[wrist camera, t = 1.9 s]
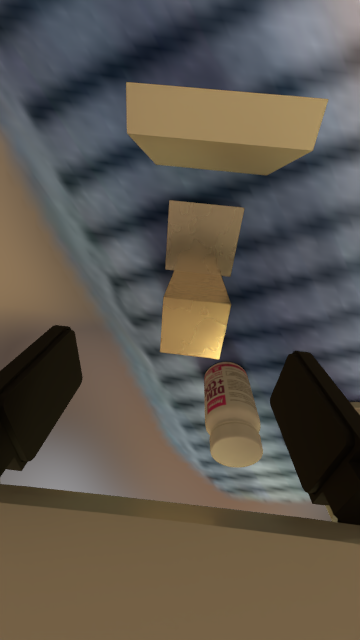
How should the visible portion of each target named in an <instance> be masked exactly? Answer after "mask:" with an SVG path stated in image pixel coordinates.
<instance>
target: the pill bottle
mask: <svg viewBox="0 0 360 640" xmlns="http://www.w3.org/2000/svg"><path fill="white" fill-rule="evenodd" d="M204 393H205V425H206V429H207V432H208V433H209V435H210V451H211V455H212V457H213V458H214V459H215V460H216V461H217V462H218V463H220V464H222V465H225V466H229V467H245V466H249V465H252V464H254V463H256V462H257V461H258V460H259V459H260V458H261V457H262V454H263V449H262V444H261V438H260V435H259V431H260V419H259V415H258V412H257V409H256V405H255V401H254V398H253V394H252V391H251V387H250V383H249V380H248V376H247V374H246V372H245V370H244V369H243V368H242V367H240V366H239V365H237V364H235V363H231V362H221V363H217V364H215V365H213V366H211V367H210V368H209V369H208V370H207V372H206V374H205V377H204Z"/></svg>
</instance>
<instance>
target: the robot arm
mask: <svg viewBox="0 0 360 640" xmlns="http://www.w3.org/2000/svg"><path fill="white" fill-rule="evenodd" d="M81 382H82V372H81V366H80V360H79V355H78V349H77V343H76V337H75V332H74V331H73V330H71V328H70V327H68V326H58V325H55V326H53V327H51V328H50V329H49V330H48V331H47V332H45V333H44V334H43V335H42V336H41V337H40V338H38V339H37V340H36V341H35V342H34V343H33V344H32V345H30V346H29V347H28V348H27V349H26V350H24V351H23V352H22V353H21V354H20V355H19V356H18V357H16V358H15V359H14V360H13V361H12V362H10V363H9V364H8V365H7V366H6V367H4V368H3V369H2V370H1V371H0V476H1V475H2V473H3V472H4V471H5V469H9V470H18V471H22V469H23V468H24V466H25V465H26V463H27V462H28V461H31V460H32V459H33V458H34V457H35V456H36V454H37V452H38V451H39V449H40V448H41V446H42V445H43V443H44V442H45V440H46V438H47V437H48V435H49V434H50V432H51V430H52V429H53V427H54V426H55V424H56V422H57V421H58V419H59V418H60V416H61V415H62V413H63V412H64V410H65V408H66V407H67V405H68V404H69V402H70V400H71V399H72V397H73V395H74V394H75V393H76V391H77V389H78V388H79V386H80V384H81ZM270 404H271V407H272V410H273V412H274V415H275V418H276V420H277V423H278V425H279V428H280V431H281V433H282V436H283V438H284V441H285V444H286V446H287V449H288V451H289V454H290V457H291V459H292V462H293V464H294V467H295V470H296V472H297V475H298V477H299V480H300V483H301V485H302V487H303V489H304V491H305V492H307V493H308V494H309V496H310V499H311V501H312V504H319V505H325V506H326V508H327V510H328V513H329V515H330V517H331V520H332V521H331V522H330V521H323V520H316V519H309V518H301V517H292V516H284V515H275V514H267V513H258V512H250V511H242V510H234V509H225V508H217V507H208V506H199V505H190V504H181V503H173V502H164V501H155V500H145V499H137V498H128V497H120V496H110V495H101V494H91V493H82V492H72V491H64V490H54V489H45V488H36V487H27V486H16V485H15V486H14V485H4V484H0V640H360V402H349V401H348V400H347V398H346V397H345V396H344V394H343V393H342V392H341V391H340V389H339V388H338V387H337V386H336V384H335V383H334V382H333V381H332V379H331V378H330V377H329V376H328V374H327V373H326V372H325V371H324V369H323V368H322V367H321V365H320V364H319V363H318V362H317V360H316V359H315V358H314V357H313V355H312V354H311V353H309V352H300V351H294V352H293V353H292V354H289V355H288V357H287V359H286V362H285V364H284V367H283V369H282V371H281V374H280V376H279V379H278V381H277V383H276V386H275V388H274V390H273V393H272V395H271V398H270Z"/></svg>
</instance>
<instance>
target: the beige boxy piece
mask: <svg viewBox="0 0 360 640" xmlns="http://www.w3.org/2000/svg"><path fill="white" fill-rule="evenodd" d="M243 213H244V208H241V207H231V206H221V205H211V204H202V203H192V202H182V201H172V200H169V216H168V232H167V249H166V266H165V269H166V270H174V273H173V275H172V278H171V280H170V283H169V285H168V287H167V290H166V292H165V295H164V297H163V314H162V331H161V347H160V352H163V353H171V354H180V355H188V356H196V357H204V358H212V359H219V358H220V353H221V349H222V344H223V340H224V335H225V331H226V326H227V322H228V317H229V313H230V308H231V303H230V300H229V297H228V294H227V291H226V288H225V286H224V283H223V280H222V277H221V276H229V277H230V276H231V271H232V266H233V261H234V257H235V252H236V247H237V242H238V237H239V232H240V227H241V222H242V218H243Z"/></svg>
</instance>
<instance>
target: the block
mask: <svg viewBox="0 0 360 640" xmlns="http://www.w3.org/2000/svg"><path fill="white" fill-rule="evenodd" d="M126 102H127V134H128V135H129V136H130V137H131V138H132V139H133V140H134V141H135V142H136V144H137V145H138V146H139V147H140V148H141V149H142V150H143V151H144V152H145V153H146V154H147V155H148V156H149V158H150V159H151V160H152V161H153V162H154V163H155V164H156V165H165V166H175V167H185V168H196V169H206V170H216V171H227V172H237V173H247V174H258V175H268V174H270V173H272V172H274V171H276V170H278V169H279V168H281V167H283V166H285V165H287V164H289V163H291V162H292V161H294V160H296V159H298V158H300V157H302V156H304V155H305V154H307V153H309V152H311V151H313V148H314V145H315V142H316V138H317V135H318V132H319V128H320V125H321V122H322V118H323V115H324V112H325V109H326V105H327V102H328V99H320V98H309V97H297V96H285V95H273V94H261V93H250V92H238V91H226V90H214V89H202V88H191V87H179V86H167V85H155V84H143V83H131V82H126Z"/></svg>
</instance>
